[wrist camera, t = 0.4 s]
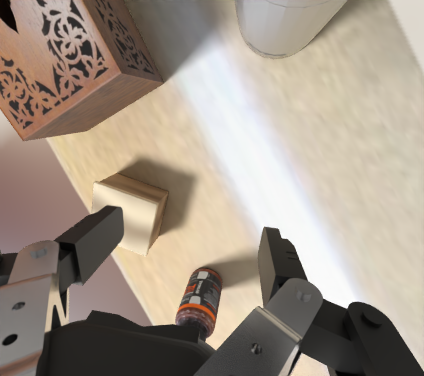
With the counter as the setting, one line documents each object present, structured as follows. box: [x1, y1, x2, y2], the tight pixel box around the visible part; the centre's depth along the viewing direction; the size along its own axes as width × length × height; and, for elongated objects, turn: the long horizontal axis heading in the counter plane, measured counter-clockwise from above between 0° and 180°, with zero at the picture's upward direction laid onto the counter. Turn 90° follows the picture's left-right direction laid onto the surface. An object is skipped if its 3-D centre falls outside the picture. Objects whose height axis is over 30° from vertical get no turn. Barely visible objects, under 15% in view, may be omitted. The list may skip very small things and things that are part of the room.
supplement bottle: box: [175, 269, 222, 342], centre depth 34 cm, size 6×6×11 cm
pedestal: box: [92, 173, 169, 256], centre depth 33 cm, size 9×9×5 cm
